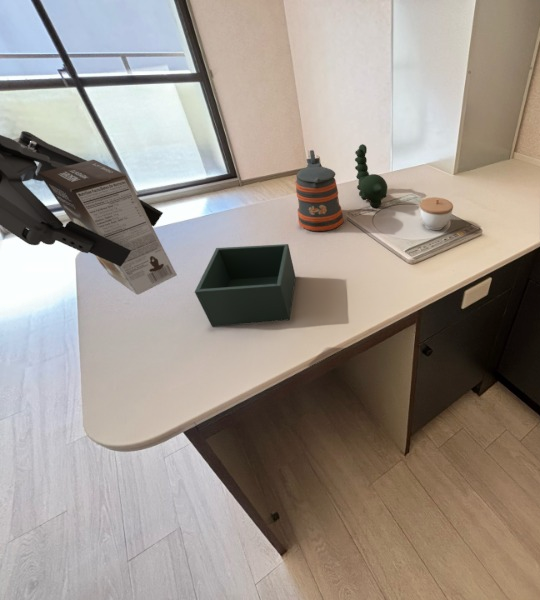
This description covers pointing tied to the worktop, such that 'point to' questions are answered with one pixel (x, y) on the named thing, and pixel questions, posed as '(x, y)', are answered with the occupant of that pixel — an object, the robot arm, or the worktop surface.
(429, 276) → the worktop surface
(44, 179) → the coffee box
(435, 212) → the trinket box
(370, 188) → the toy figurine
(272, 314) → the waste bin
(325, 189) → the beer stein
